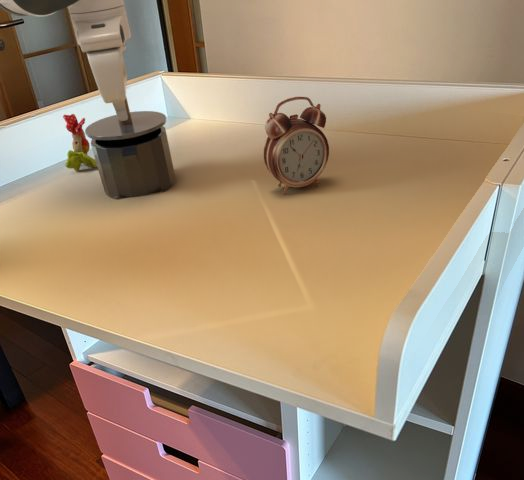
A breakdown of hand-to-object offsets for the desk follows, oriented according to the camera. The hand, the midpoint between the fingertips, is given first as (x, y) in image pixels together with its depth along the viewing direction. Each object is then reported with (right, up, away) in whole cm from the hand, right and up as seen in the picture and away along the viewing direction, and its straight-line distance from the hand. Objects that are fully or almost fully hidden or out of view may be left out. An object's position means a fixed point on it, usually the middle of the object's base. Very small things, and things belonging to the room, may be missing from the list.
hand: (123, 117), depth 100 cm
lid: (0, -1, +1) cm, 2 cm away
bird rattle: (-13, -2, +20) cm, 24 cm away
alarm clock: (+31, -13, -1) cm, 34 cm away
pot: (+1, -10, +8) cm, 13 cm away
